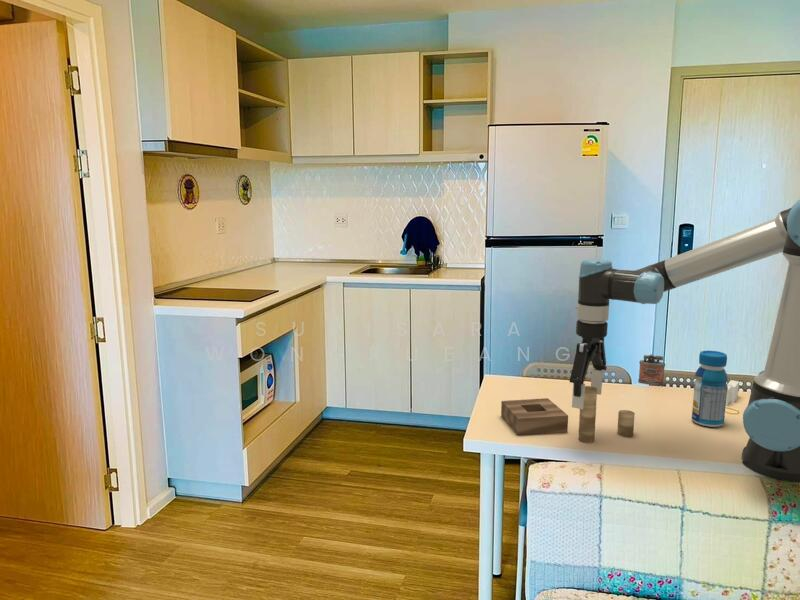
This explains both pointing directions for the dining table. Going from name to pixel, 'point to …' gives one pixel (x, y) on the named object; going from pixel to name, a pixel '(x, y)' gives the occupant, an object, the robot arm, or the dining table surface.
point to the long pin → (588, 416)
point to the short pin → (625, 423)
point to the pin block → (534, 417)
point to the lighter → (651, 370)
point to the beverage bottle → (710, 389)
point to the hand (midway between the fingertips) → (586, 400)
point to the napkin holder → (732, 391)
